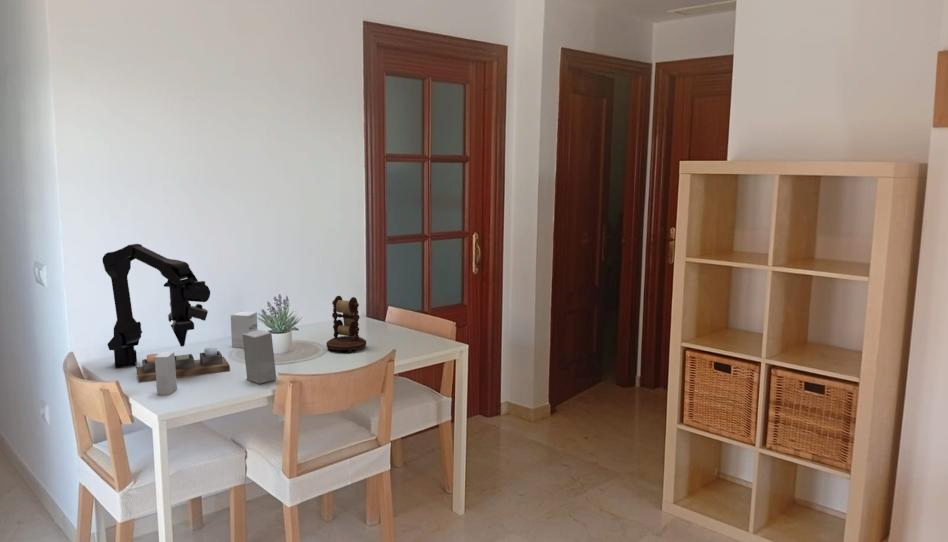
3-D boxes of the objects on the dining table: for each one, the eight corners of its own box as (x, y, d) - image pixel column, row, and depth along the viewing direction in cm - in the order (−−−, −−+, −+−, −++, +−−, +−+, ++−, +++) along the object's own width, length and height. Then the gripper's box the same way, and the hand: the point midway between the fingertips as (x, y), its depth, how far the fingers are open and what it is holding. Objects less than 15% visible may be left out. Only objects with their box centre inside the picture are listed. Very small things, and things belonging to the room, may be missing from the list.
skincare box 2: (276, 380, 240) (274, 332, 237) (256, 385, 235) (254, 336, 232) (263, 375, 246) (261, 328, 243) (243, 379, 241) (241, 332, 238)
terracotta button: (147, 366, 242) (147, 357, 241) (146, 363, 245) (146, 354, 245) (160, 365, 244) (160, 356, 243) (159, 362, 247) (159, 353, 247)
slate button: (205, 359, 250) (205, 351, 249) (204, 356, 253) (203, 348, 253) (218, 358, 252) (217, 349, 251) (216, 355, 255) (215, 346, 255)
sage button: (177, 367, 246) (176, 358, 246) (176, 364, 250) (175, 355, 249) (190, 365, 248) (189, 357, 247) (188, 362, 251) (188, 354, 251)
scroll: (373, 346, 283) (372, 294, 279) (351, 355, 269) (350, 301, 266) (341, 342, 289) (340, 291, 286) (318, 351, 276) (316, 298, 272)
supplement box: (249, 348, 279) (247, 315, 277) (231, 347, 280) (229, 314, 278) (258, 343, 286) (257, 311, 284) (241, 342, 288) (239, 310, 286)
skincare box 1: (163, 388, 231) (160, 351, 229) (177, 388, 232) (174, 351, 230) (156, 395, 225) (153, 356, 223) (171, 394, 226) (168, 356, 224)
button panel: (139, 382, 237) (138, 367, 237) (136, 372, 248) (135, 358, 247) (229, 370, 250) (229, 356, 249) (224, 362, 261) (223, 348, 260)
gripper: (209, 302, 241) (212, 349, 243) (201, 293, 257) (203, 337, 260) (172, 306, 236) (175, 353, 238) (166, 296, 252) (169, 341, 254)
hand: (182, 346), depth 248 cm, fingers closed
